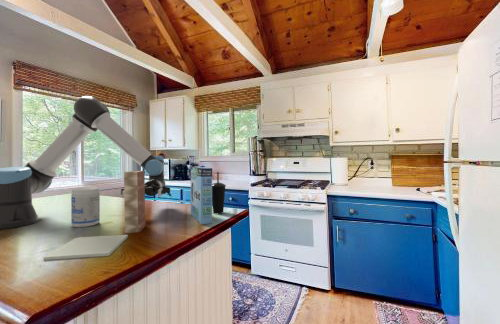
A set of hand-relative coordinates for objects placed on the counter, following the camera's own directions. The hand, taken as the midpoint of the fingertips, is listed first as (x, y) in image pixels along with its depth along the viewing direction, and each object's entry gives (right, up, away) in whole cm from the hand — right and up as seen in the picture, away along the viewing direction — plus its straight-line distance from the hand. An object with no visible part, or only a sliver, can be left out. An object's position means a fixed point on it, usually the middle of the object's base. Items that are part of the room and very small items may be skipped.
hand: (141, 193), depth 98 cm
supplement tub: (-23, -13, 0) cm, 26 cm away
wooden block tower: (+1, -13, -7) cm, 14 cm away
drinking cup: (+29, -12, +19) cm, 37 cm away
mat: (-4, -13, -25) cm, 28 cm away
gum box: (+23, -12, +8) cm, 27 cm away
